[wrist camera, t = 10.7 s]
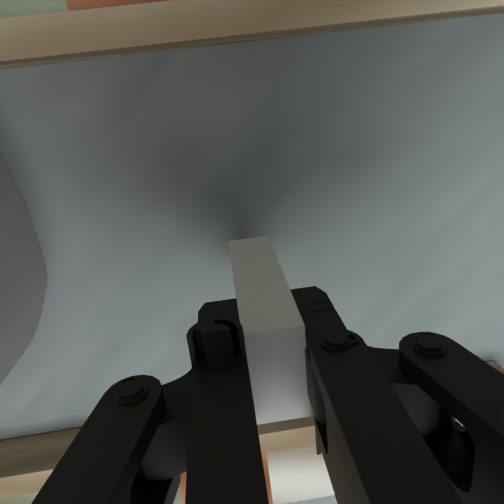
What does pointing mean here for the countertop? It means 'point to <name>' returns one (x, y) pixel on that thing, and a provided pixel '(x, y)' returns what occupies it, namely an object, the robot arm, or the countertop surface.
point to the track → (169, 38)
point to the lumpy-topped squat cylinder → (17, 274)
